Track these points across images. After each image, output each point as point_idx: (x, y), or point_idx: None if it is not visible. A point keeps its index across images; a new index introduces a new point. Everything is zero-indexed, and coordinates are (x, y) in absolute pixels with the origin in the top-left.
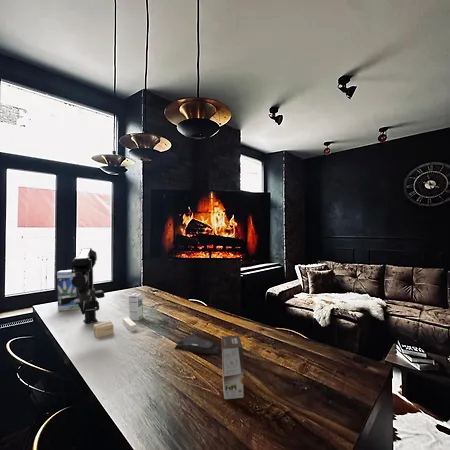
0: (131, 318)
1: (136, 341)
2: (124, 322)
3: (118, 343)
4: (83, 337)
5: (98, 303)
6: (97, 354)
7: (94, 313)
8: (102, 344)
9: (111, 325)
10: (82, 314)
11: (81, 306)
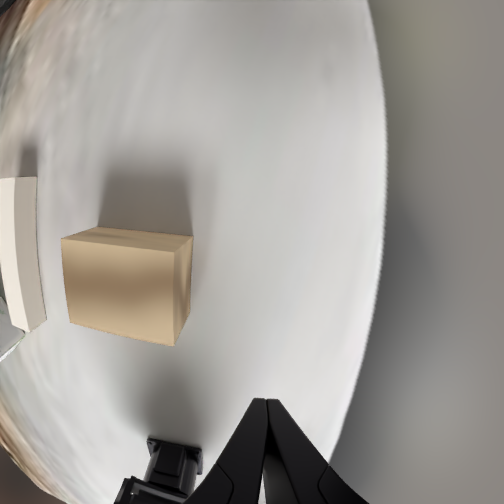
0: (14, 329)
1: (75, 42)
2: (31, 297)
3: (132, 60)
4: (255, 308)
5: (115, 501)
6: (266, 12)
7: (150, 473)
8: (198, 101)
9: (74, 238)
10: (279, 401)
11: (322, 501)
